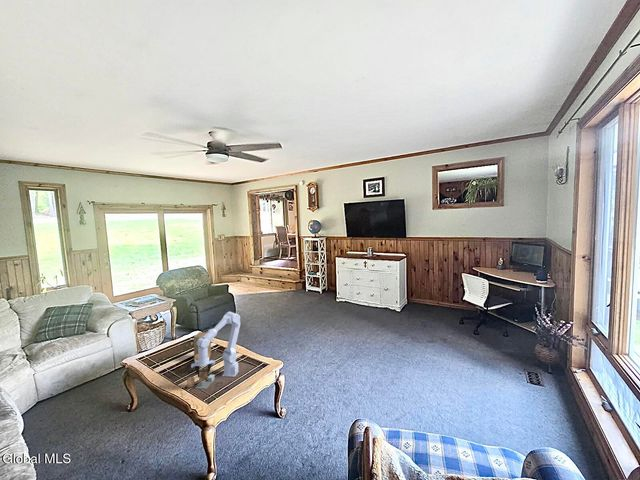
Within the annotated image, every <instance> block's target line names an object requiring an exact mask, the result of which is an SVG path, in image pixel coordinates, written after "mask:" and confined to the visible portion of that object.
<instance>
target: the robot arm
mask: <svg viewBox="0 0 640 480" xmlns="http://www.w3.org/2000/svg"><path fill="white" fill-rule="evenodd" d="M226 324H227V325H229V324H231V329H230V332H229V333H230V334H229V337H228V343H227V347H226V348H224V350H223V353H222V355H221V358H222V359H223V373H222V375H221V377H228V378H229V377H230V378H231V377H234V378H235V377H236V376H237V374H238V373H239V362H238V361H237V351H236V346H237V345H236V344H237V341H238V336H239V333H240V328H241V316H240V314H239V313H236V312H232V311H227V312H226V313H225V314H224V315H223V317H222V318H221V320H220V321H219V322H218V323H217V324H216V325H215V326H214V327H213V328H210V329H208V331H206V332H207V333H206V334H205V335H204V336H203V337H202V338H199V339H198V341H197V343H196V344H197V345H198V357H199V362H196V363H195V362H193V363H191V365H190V368H191V369H193V368H194V370H195V372H196V374H197V377H198V379H199V370H200V367H199V366H204V365H206V367H207V368H206V369H208V373H207V376H208V377H209V376H210V370H211V369H212V365H216V361H215V359H214V360H213V359H211V360H210V359H209V360H208V346H209V343H210V341H211V342H212V340H213V339H214V338H215V337H216V336H217V335H218V332H219V331H220V330H221V329H222V328H223V327H225V326H226ZM204 367H205V366H204Z"/></svg>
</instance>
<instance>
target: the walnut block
mask: <svg viewBox="0 0 640 480" xmlns="http://www.w3.org/2000/svg"><path fill="white" fill-rule="evenodd" d="M207 373H208V368H203V369H199V378H198V380H199V382H201V381H208V377H209V376H207Z"/></svg>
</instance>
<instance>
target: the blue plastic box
mask: <svg viewBox="0 0 640 480" xmlns="http://www.w3.org/2000/svg"><path fill="white" fill-rule="evenodd" d="M215 376H216V375H215V374H209V376H208V378H207V382H212V383H213V382H214V380H215V379H216V377H215Z"/></svg>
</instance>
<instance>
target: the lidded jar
mask: <svg viewBox="0 0 640 480" xmlns="http://www.w3.org/2000/svg"><path fill="white" fill-rule="evenodd" d="M209 356H210V354H209V353H208V360H210V357H211V356H210V357H209ZM194 358H195V361H194V363H196V362H199V357H198V354H196V355H195V356H194V355H193V359H194ZM203 367H207V365H204V366H199V368H203Z"/></svg>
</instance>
